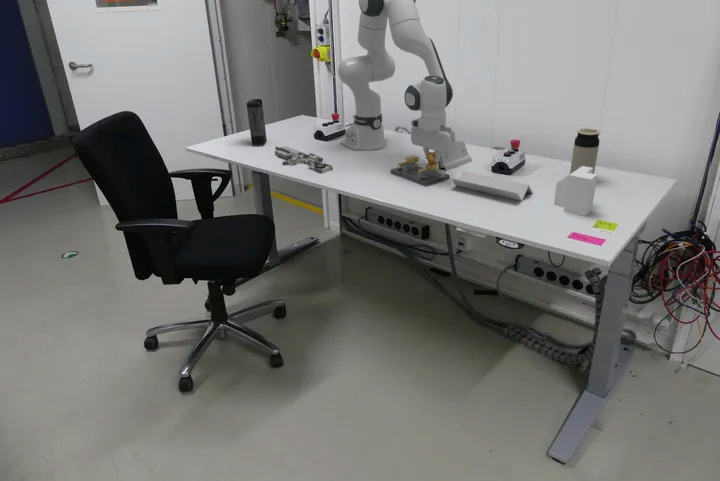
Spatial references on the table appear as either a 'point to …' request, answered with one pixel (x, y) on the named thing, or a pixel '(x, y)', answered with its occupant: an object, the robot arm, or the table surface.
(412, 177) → the bolt plate
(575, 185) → the corner bracket
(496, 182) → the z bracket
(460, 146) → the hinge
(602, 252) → the table surface
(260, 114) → the electronic device
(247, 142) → the table surface
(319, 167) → the gun
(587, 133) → the travel mug
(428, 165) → the sliding leg
